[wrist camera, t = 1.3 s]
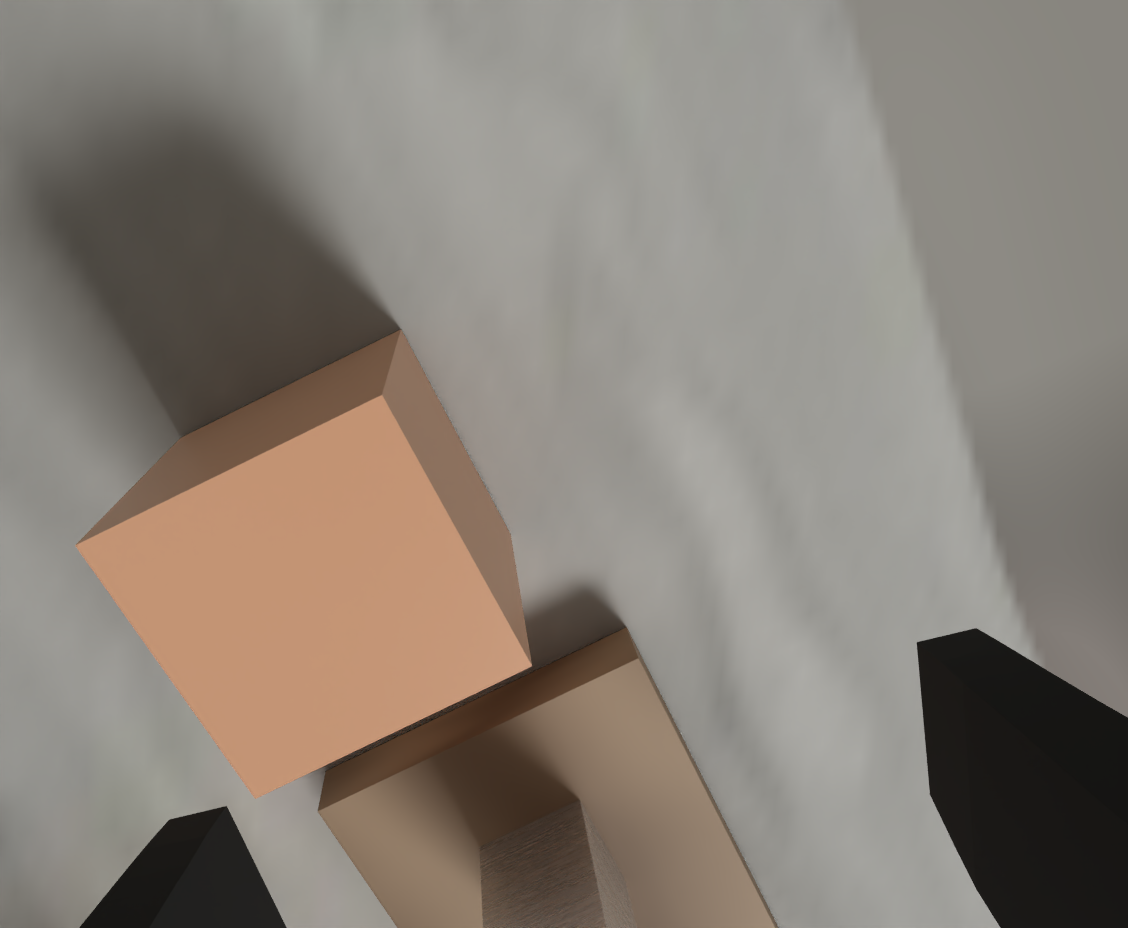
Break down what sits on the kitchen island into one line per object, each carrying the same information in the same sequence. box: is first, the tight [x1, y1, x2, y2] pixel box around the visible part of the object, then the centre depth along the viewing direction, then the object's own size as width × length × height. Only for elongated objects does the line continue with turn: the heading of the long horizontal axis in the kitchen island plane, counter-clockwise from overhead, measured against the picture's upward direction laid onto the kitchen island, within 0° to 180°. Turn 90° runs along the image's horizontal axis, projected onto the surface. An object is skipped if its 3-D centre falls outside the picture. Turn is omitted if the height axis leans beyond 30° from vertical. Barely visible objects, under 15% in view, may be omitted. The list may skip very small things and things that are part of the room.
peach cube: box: [75, 330, 532, 799], centre depth 18 cm, size 5×5×6 cm
